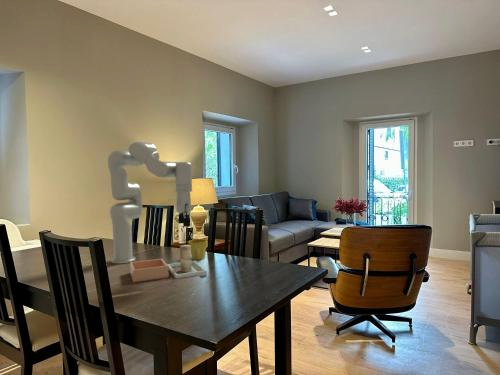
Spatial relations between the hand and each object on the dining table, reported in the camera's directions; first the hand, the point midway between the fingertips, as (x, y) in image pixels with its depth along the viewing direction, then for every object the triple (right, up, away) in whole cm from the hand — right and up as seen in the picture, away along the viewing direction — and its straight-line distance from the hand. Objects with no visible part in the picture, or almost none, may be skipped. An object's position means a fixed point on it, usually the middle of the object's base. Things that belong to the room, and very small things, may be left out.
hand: (184, 224), depth 163 cm
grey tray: (+1, -23, +1) cm, 23 cm away
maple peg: (+1, -22, +1) cm, 22 cm away
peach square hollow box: (-15, -23, -5) cm, 28 cm away
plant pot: (+2, -22, +28) cm, 35 cm away
